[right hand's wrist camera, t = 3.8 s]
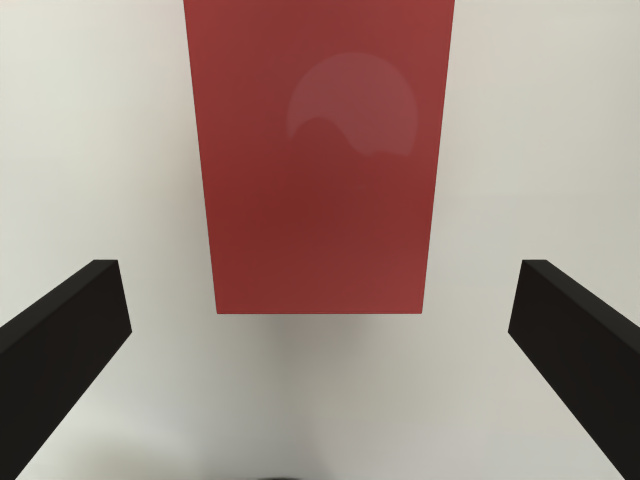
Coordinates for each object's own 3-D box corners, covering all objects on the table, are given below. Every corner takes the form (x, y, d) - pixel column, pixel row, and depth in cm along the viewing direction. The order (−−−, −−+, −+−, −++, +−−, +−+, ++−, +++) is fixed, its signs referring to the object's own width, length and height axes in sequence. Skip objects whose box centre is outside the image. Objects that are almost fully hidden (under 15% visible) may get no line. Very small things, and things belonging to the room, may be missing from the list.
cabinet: (235, -14, 25) (172, -99, 14) (402, -14, 25) (465, -99, 14) (252, 239, 31) (216, 314, 20) (386, 239, 31) (422, 314, 20)
